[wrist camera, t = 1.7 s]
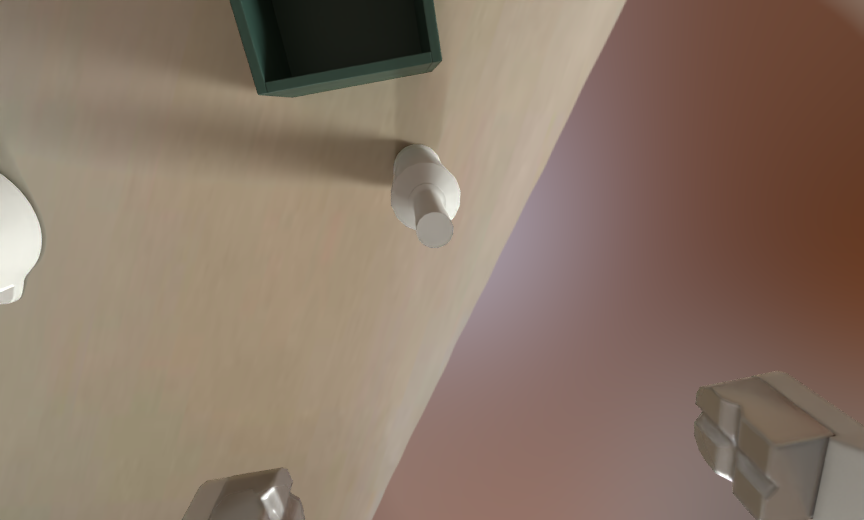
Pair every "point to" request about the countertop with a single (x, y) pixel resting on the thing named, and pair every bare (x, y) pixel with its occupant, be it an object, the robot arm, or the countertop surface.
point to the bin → (335, 42)
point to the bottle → (424, 195)
